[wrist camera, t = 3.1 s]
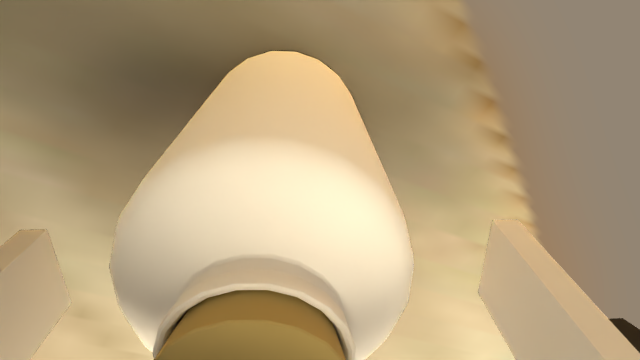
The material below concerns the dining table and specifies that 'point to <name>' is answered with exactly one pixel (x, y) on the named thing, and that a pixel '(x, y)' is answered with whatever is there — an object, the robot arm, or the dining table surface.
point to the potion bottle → (265, 226)
